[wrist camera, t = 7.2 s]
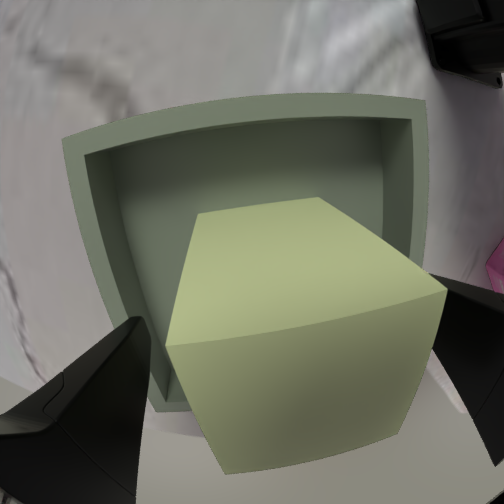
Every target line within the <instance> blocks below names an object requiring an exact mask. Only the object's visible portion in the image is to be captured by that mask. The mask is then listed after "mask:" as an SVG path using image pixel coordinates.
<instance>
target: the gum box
mask: <svg viewBox="0 0 504 504" xmlns="http://www.w3.org/2000/svg"><path fill="white" fill-rule="evenodd" d="M486 269H487V271H488V274H489V277H490V280H491V283H492V287H493V290H494V291H495V292H499V293H502V294H504V238H503V240H502V241H501V243H500V244H499V246H498V247H497V249H496V250H495V251H494V253H493V254H492V255H491V257H490V258H489V259H488V261H487V263H486Z"/></svg>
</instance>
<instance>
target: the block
mask: <svg viewBox="0 0 504 504" xmlns="http://www.w3.org/2000/svg"><path fill="white" fill-rule="evenodd" d="M447 290H448V289H447V288H446V287H445V286H443V285H442V284H441V283H440V282H438V281H437V280H436V279H435V278H433V277H432V276H431V275H429V274H428V273H427V272H426V271H424V270H423V269H422V268H420V267H419V266H418V265H416V264H415V263H414V262H412V261H411V260H410V259H408V258H407V257H406V256H404V255H403V254H402V253H400V252H399V251H398V250H396V249H395V248H393V247H392V246H391V245H389V244H388V243H386V242H385V241H384V240H382V239H381V238H379V237H378V236H377V235H375V234H374V233H372V232H371V231H369V230H368V229H366V228H365V227H364V226H362V225H361V224H359V223H358V222H356V221H355V220H353V219H352V218H350V217H349V216H347V215H346V214H344V213H343V212H341V211H340V210H338V209H336V208H335V207H333V206H332V205H330V204H329V203H327V202H326V201H324V200H322V199H321V198H319V197H315V198H306V199H298V200H290V201H282V202H274V203H267V204H260V205H252V206H245V207H239V208H232V209H225V210H219V211H212V212H206V213H200V214H198V215H197V219H196V223H195V226H194V230H193V233H192V237H191V241H190V244H189V248H188V252H187V256H186V259H185V263H184V267H183V271H182V275H181V279H180V283H179V287H178V291H177V296H176V300H175V304H174V308H173V313H172V317H171V322H170V326H169V331H168V335H167V340H166V345H165V346H166V349H167V352H168V354H169V357H170V359H171V362H172V364H173V367H174V369H175V372H176V374H177V377H178V379H179V381H180V384H181V386H182V388H183V391H184V393H185V395H186V398H187V400H188V402H189V404H190V406H191V409H192V411H193V413H194V415H195V417H196V419H197V421H198V424H199V426H200V428H201V430H202V432H203V434H204V436H205V438H206V440H207V442H208V444H209V445H210V448H211V450H212V451H213V453H214V455H215V457H216V459H217V461H218V463H219V465H220V466H221V468H222V470H223V472H224V473H225V474H235V473H236V474H237V473H246V472H253V471H262V470H268V469H274V468H280V467H285V466H291V465H296V464H300V463H305V462H310V461H314V460H318V459H322V458H326V457H330V456H334V455H337V454H341V453H344V452H347V451H350V450H354V449H357V448H360V447H363V446H366V445H369V444H372V443H375V442H378V441H380V440H383V439H385V438H388V437H391V436H393V435H396V434H397V433H398V432H399V430H400V427H401V425H402V423H403V421H404V419H405V417H406V415H407V412H408V410H409V408H410V406H411V403H412V401H413V399H414V396H415V394H416V391H417V389H418V386H419V384H420V381H421V379H422V376H423V373H424V370H425V368H426V365H427V362H428V359H429V356H430V353H431V350H432V347H433V344H434V340H435V337H436V334H437V330H438V326H439V323H440V319H441V315H442V311H443V307H444V303H445V299H446V295H447Z"/></svg>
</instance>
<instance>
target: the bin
mask: <svg viewBox="0 0 504 504" xmlns="http://www.w3.org/2000/svg"><path fill="white" fill-rule="evenodd" d="M62 145H63V152H64V158H65V164H66V170H67V175H68V180H69V185H70V190H71V195H72V199H73V203H74V208H75V212H76V216H77V220H78V224H79V228H80V231H81V235H82V238H83V242H84V245H85V249H86V252H87V255H88V258H89V262H90V265H91V268H92V271H93V274H94V277H95V280H96V283H97V285H98V288H99V291H100V294H101V296H102V299H103V302H104V304H105V307H106V309H107V312H108V314H109V317H110V319H111V322H112V324H113V327H114V329H116V328H117V327H118V326H119V325H121V324H122V323H123V322H125V321H126V320H127V319H128V318H130V317H132V316H142V317H143V318H144V319H145V322H146V325H147V327H148V330H149V333H150V335H151V340H152V345H151V362H150V380H149V388H148V394H147V397H148V399H149V401H150V402H151V404H152V406H153V408H154V409H155V411H156V412H180V411H192V409H191V406H190V404H189V402H188V400H187V398H186V395H185V393H184V391H183V388H182V386H181V384H180V381H179V379H178V377H177V374H176V372H175V369H174V367H173V364H172V362H171V359H170V357H169V354H168V352H167V349H166V346H165V345H166V340H167V335H168V331H169V326H170V322H171V317H172V313H173V308H174V304H175V300H176V296H177V291H178V287H179V283H180V279H181V275H182V271H183V267H184V263H185V259H186V256H187V252H188V248H189V244H190V241H191V237H192V233H193V230H194V226H195V223H196V219H197V215H198V214H200V213H206V212H212V211H219V210H225V209H232V208H239V207H245V206H252V205H260V204H267V203H274V202H282V201H290V200H298V199H306V198H315V197H319V198H321V199H322V200H324V201H326V202H327V203H329V204H330V205H332V206H333V207H335V208H336V209H338V210H340V211H341V212H343V213H344V214H346V215H347V216H349V217H350V218H352V219H353V220H355V221H356V222H358V223H359V224H361V225H362V226H364V227H365V228H366V229H368V230H369V231H371V232H372V233H374V234H375V235H377V236H378V237H379V238H381V239H382V240H384V241H385V242H386V243H388V244H389V245H391V246H392V247H393V248H395V249H396V250H398V251H399V252H400V253H402V254H403V255H404V256H406V257H407V258H408V259H410V260H411V261H412V262H414V263H415V264H416V265H418V266H419V267H420V268H422V264H423V256H424V247H425V238H426V227H427V213H428V193H429V147H428V127H427V114H426V103H425V100H419V99H411V98H403V97H393V96H383V95H369V94H350V93H294V94H274V95H260V96H249V97H239V98H230V99H222V100H215V101H208V102H202V103H195V104H190V105H184V106H179V107H173V108H168V109H164V110H159V111H154V112H150V113H146V114H142V115H138V116H134V117H130V118H126V119H122V120H118V121H115V122H111V123H108V124H105V125H101V126H98V127H95V128H92V129H89V130H86V131H83V132H80V133H77V134H74V135H71V136H68V137H65V138H63V139H62Z"/></svg>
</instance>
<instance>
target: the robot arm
mask: <svg viewBox="0 0 504 504" xmlns="http://www.w3.org/2000/svg"><path fill="white" fill-rule="evenodd" d="M417 3H418V6H419V10H420V13H421V17H422V21H423V25H424V29H425V33H426V37H427V42H428V46H429V51H430V56H431V61H432V64H433V66H434V67H435V68H436V69H437V70H439V71H442V72H446V73H450V74H453V75H457V76H460V77H464V78H467V79H470V80H473V81H476V82H479V83H482V84H485V85H487V86H490V87H493V88H502V86H503V83H502V76H501V73H504V0H417ZM439 60H440V61H441V63H440V61H439ZM428 274H429V275H431V276H432V277H433V278H435V279H436V280H437V281H438V282H440V283H441V284H442V285H443V286H445V287H446V288H447V289H448V290H447V295H446V299H445V303H444V307H443V311H442V315H441V319H440V323H439V326H438V330H437V334H436V337H435V340H434V344H433V347H432V349H433V351H434V352H435V354H436V356H437V357H438V359H439V361H440V362H441V364H442V366H443V367H444V369H445V371H446V372H447V374H448V376H449V377H450V379H451V381H452V383H453V384H454V386H455V388H456V390H457V391H458V393H459V395H460V397H461V399H462V401H463V402H464V404H465V406H466V408H467V410H468V412H469V414H470V416H471V418H472V419H473V422H474V424H475V426H476V428H477V430H478V432H479V434H480V436H481V438H482V440H483V442H484V444H485V447H486V449H487V451H488V453H489V456H490V458H491V460H492V462H493V464H494V466H495V467H496V466H497V465H498V464H500V463H501V462H502V461H503V460H504V294H502V293H499V292H495V291H492V290H488V289H484V288H481V287H477V286H474V285H470V284H467V283H463V282H459V281H456V280H452V279H448V278H445V277H441V276H437V275H433V274H430V273H428ZM151 345H152V340H151V335H150V333H149V330H148V327H147V325H146V322H145V319H144V318H143V317H142V316H132V317H130V318H128V319H127V320H126V321H125V322H123V323H122V324H121V325H119V326H118V327H117V328H116V329H114V330H113V331H112V332H110V333H109V334H108V335H107V336H105V337H104V338H103V339H102V340H100V341H99V342H98V343H96V344H95V345H94V346H93V347H91V348H90V349H89V350H88V351H86V352H85V353H84V354H83V355H81V356H80V357H79V358H78V359H76V360H75V361H74V362H73V363H71V364H70V365H69V366H68V367H66V368H65V369H64V370H63V372H60V373H59V374H58V375H56V376H55V377H54V378H53V379H51V380H50V381H49V382H48V383H46V384H45V385H44V386H42V387H41V388H40V389H38V390H37V391H35V392H34V393H33V394H31V395H30V396H28V397H27V398H26V399H24V400H23V401H22V402H20V403H19V404H17V405H16V406H14V407H13V408H11V409H10V410H8V411H7V412H5V413H4V414H1V415H0V504H136V497H135V496H136V488H137V476H138V465H139V455H140V446H141V437H142V429H143V422H144V414H145V407H146V401H147V394H148V388H149V380H150V362H151ZM486 504H504V490H503V491H501V492H500V493H499V494H498V495H496V496H495V497H494V498H493V499H491V500H490V501H489V502H488V503H486Z"/></svg>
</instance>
